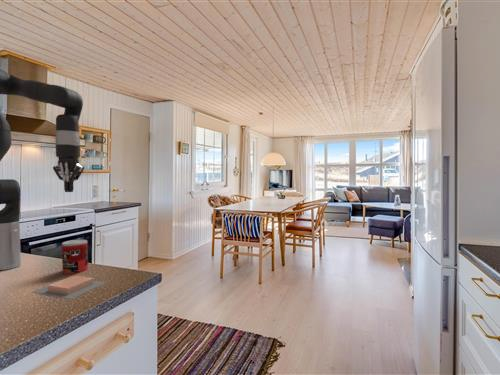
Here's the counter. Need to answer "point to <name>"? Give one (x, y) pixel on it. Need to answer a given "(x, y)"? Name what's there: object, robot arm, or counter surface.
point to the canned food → (74, 256)
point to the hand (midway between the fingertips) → (69, 191)
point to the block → (70, 284)
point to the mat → (72, 295)
